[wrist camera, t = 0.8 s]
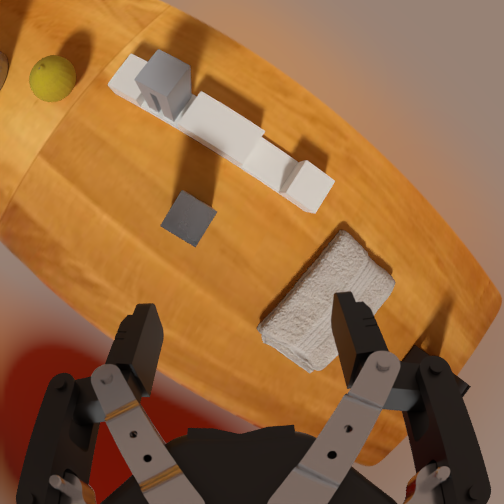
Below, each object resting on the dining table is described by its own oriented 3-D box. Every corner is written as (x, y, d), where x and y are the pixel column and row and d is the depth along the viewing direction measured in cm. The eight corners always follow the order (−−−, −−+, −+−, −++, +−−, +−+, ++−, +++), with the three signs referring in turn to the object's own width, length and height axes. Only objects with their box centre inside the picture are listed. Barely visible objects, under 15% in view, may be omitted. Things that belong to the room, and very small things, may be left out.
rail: (323, 181, 39) (364, 179, 29) (305, 211, 39) (342, 218, 29) (136, 64, 32) (118, 25, 22) (114, 93, 32) (89, 61, 22)
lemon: (68, 61, 30) (45, 38, 22) (92, 84, 32) (70, 61, 24) (39, 93, 30) (11, 75, 22) (61, 116, 32) (34, 101, 24)
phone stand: (437, 362, 49) (478, 393, 37) (417, 388, 49) (455, 422, 37) (414, 344, 46) (459, 376, 35) (392, 372, 47) (433, 410, 35)
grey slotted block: (195, 233, 37) (195, 247, 28) (169, 217, 36) (160, 226, 27) (211, 207, 37) (217, 211, 27) (185, 191, 36) (181, 190, 26)
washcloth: (250, 330, 41) (254, 340, 38) (338, 224, 41) (348, 227, 38) (311, 371, 44) (318, 382, 41) (389, 277, 44) (401, 282, 41)
